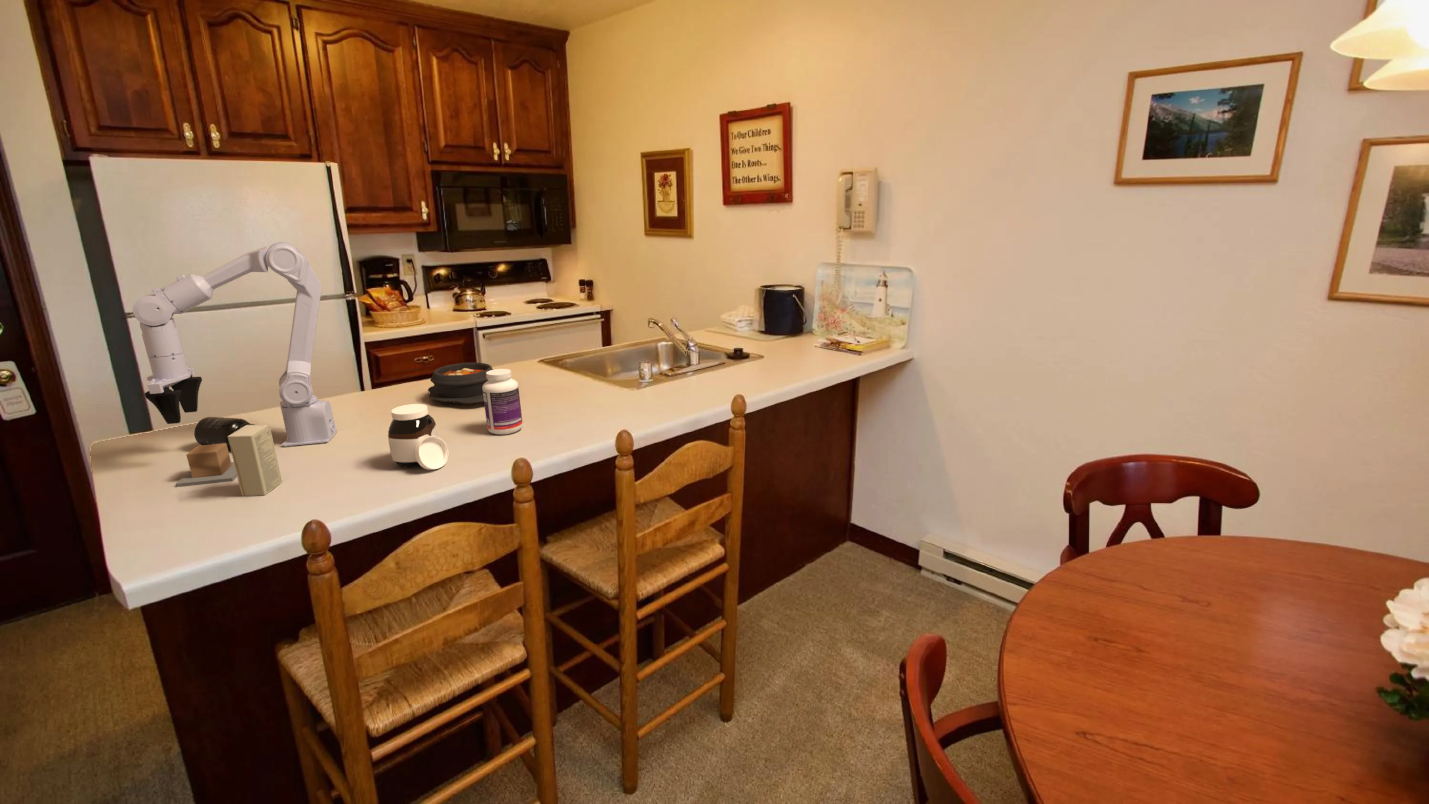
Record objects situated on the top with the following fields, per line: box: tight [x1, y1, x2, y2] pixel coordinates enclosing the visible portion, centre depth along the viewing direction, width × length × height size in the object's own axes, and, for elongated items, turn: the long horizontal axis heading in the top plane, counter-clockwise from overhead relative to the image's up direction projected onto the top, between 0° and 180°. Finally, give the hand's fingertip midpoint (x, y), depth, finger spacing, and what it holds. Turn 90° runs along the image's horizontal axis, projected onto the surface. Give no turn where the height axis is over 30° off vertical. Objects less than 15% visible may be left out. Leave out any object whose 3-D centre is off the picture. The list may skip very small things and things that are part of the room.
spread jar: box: [387, 403, 449, 471], centre depth 136 cm, size 12×11×12 cm
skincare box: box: [228, 424, 283, 497], centre depth 124 cm, size 6×4×12 cm
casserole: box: [427, 362, 494, 405], centre depth 181 cm, size 25×19×8 cm
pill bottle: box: [482, 368, 523, 436], centre depth 154 cm, size 8×8×14 cm
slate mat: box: [174, 461, 238, 488], centre depth 133 cm, size 10×10×1 cm
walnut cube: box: [186, 443, 232, 478], centre depth 132 cm, size 5×5×5 cm
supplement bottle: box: [193, 416, 256, 450], centre depth 146 cm, size 7×7×12 cm
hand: (182, 417), depth 138 cm, fingers open, 7 cm apart
